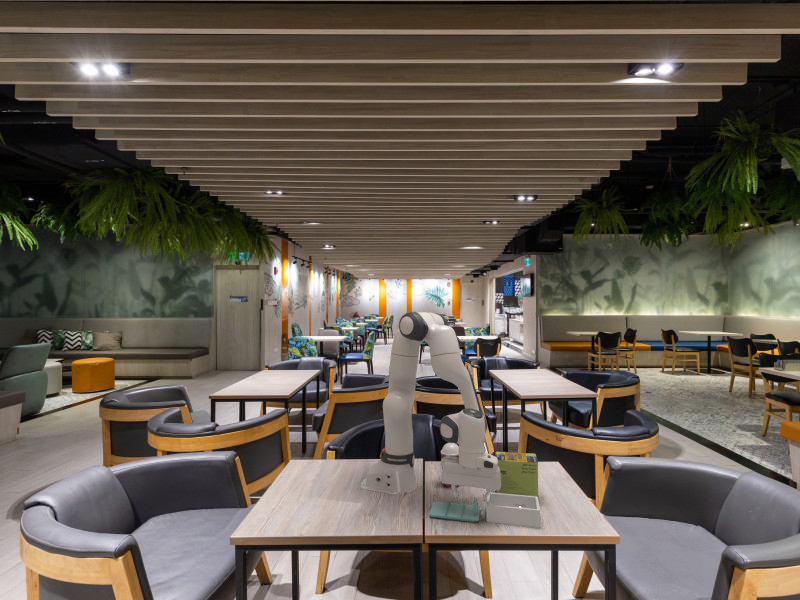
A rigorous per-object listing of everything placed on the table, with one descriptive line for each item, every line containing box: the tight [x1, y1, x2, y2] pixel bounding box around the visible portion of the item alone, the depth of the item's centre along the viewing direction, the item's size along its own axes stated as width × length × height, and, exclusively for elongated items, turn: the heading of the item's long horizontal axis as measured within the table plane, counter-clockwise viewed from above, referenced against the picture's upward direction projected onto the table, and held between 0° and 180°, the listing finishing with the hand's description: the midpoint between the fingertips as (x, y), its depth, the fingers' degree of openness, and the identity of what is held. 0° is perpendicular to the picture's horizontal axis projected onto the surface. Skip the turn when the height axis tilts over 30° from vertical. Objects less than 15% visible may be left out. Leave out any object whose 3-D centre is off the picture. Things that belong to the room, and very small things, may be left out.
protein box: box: [494, 451, 539, 498], centre depth 172 cm, size 10×15×16 cm
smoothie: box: [440, 442, 460, 489], centre depth 183 cm, size 8×8×20 cm
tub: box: [485, 492, 541, 529], centre depth 155 cm, size 17×11×6 cm, turn 77°
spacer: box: [515, 504, 525, 508], centre depth 156 cm, size 3×3×3 cm
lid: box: [429, 497, 481, 523], centre depth 157 cm, size 16×10×6 cm, turn 77°
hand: (470, 498), depth 155 cm, fingers open, 8 cm apart
